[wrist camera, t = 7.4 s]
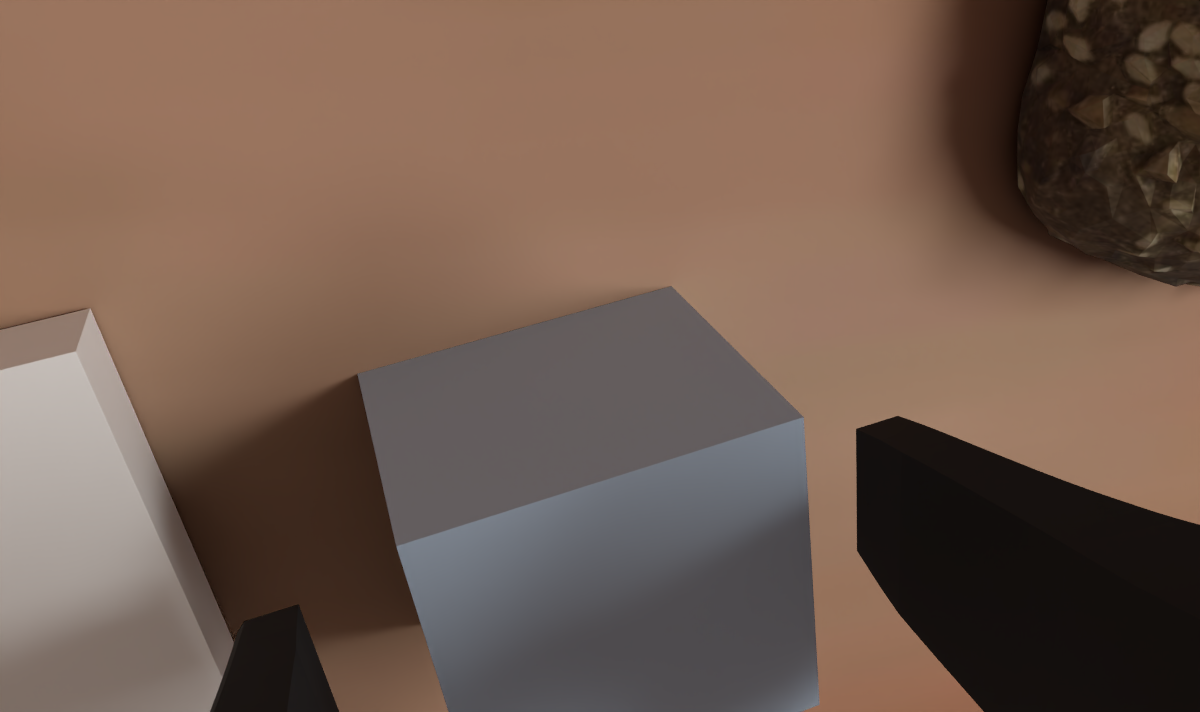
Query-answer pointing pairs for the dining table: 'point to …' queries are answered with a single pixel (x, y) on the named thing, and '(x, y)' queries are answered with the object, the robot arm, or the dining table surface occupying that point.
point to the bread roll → (1117, 133)
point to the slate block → (601, 516)
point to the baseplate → (92, 542)
